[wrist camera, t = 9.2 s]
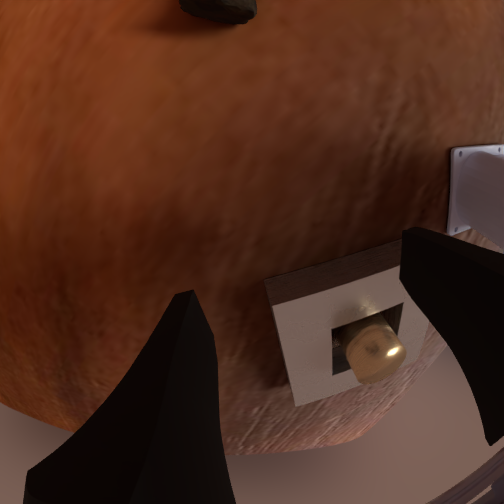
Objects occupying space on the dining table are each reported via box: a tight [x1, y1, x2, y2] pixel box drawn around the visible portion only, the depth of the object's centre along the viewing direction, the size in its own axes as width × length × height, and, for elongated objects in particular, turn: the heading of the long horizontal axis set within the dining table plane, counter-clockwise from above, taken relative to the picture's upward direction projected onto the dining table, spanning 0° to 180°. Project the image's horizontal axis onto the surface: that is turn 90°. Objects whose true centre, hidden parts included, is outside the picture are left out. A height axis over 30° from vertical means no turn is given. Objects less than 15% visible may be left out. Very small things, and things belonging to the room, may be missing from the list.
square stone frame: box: [264, 239, 429, 407], centre depth 22 cm, size 14×14×3 cm
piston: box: [332, 312, 407, 384], centre depth 21 cm, size 4×4×6 cm
